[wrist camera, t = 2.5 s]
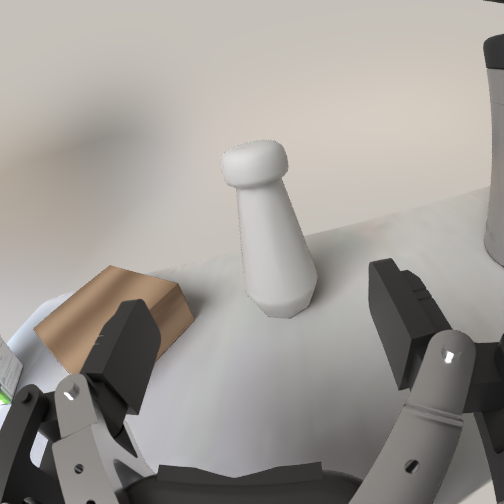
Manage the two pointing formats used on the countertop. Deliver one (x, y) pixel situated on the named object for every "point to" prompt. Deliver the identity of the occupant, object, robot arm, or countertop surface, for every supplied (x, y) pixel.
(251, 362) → the countertop surface
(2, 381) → the syrup box
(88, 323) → the wooden block
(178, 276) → the countertop surface
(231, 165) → the salt shaker
